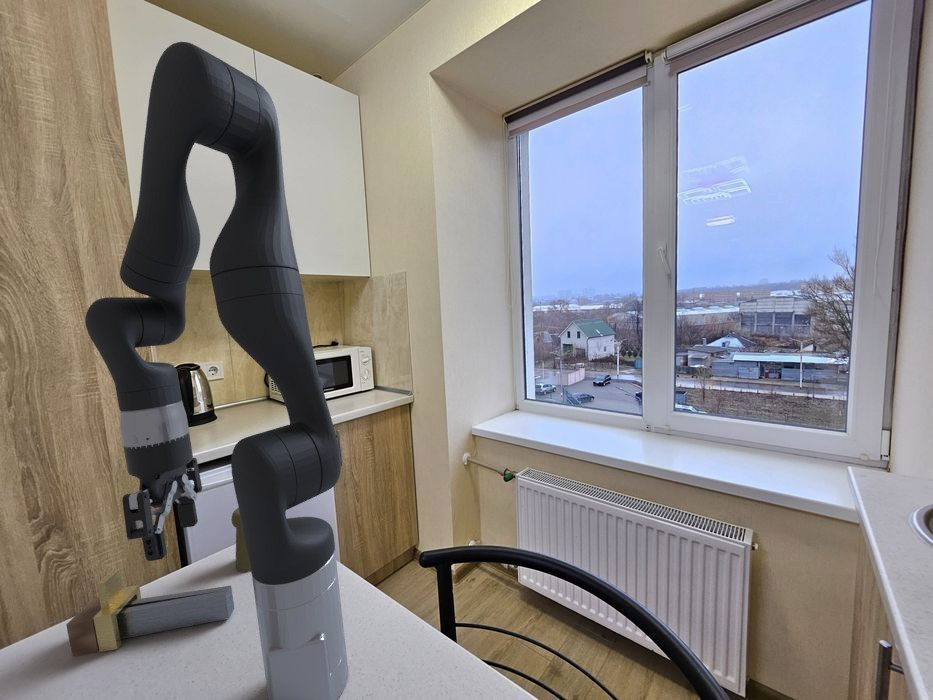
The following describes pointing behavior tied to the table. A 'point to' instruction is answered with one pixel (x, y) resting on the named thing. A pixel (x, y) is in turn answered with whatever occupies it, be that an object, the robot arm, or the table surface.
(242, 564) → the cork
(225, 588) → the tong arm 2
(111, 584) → the collar
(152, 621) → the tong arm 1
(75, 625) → the block
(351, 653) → the table surface
